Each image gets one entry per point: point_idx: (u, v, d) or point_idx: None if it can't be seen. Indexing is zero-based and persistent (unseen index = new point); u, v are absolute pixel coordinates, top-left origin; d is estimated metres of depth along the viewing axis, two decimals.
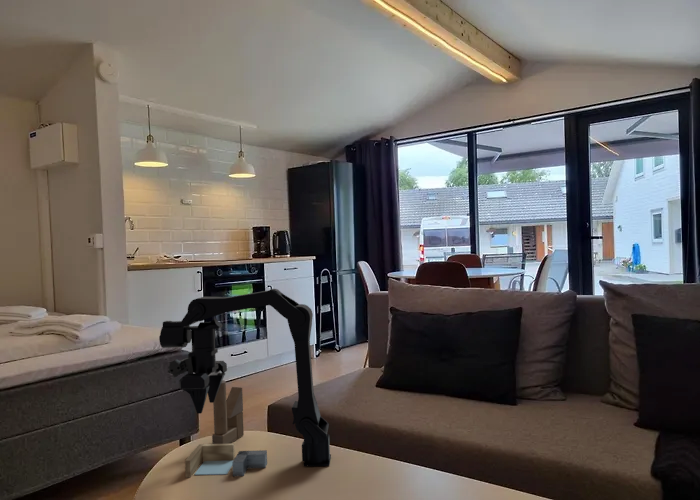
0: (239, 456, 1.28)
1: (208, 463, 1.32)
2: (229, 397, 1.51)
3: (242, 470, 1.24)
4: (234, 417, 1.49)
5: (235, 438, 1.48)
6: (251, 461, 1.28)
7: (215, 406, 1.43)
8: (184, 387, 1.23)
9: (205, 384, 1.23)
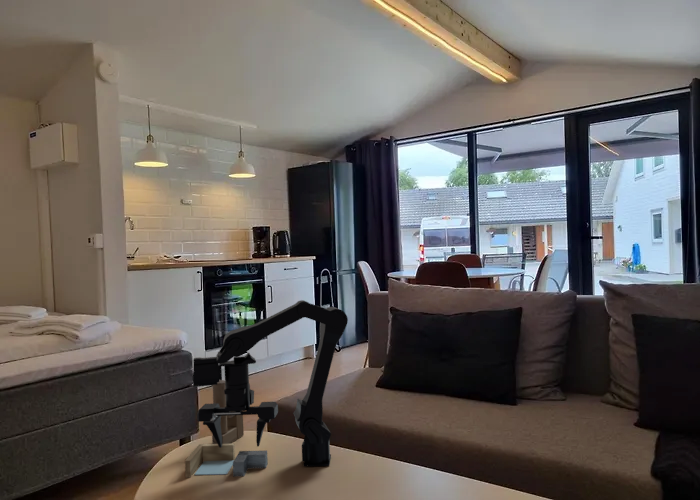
0: (239, 456, 1.27)
1: (208, 463, 1.32)
2: None
3: (242, 470, 1.24)
4: (234, 417, 1.49)
5: (235, 438, 1.48)
6: (251, 461, 1.28)
7: None
8: None
9: (201, 419, 1.23)
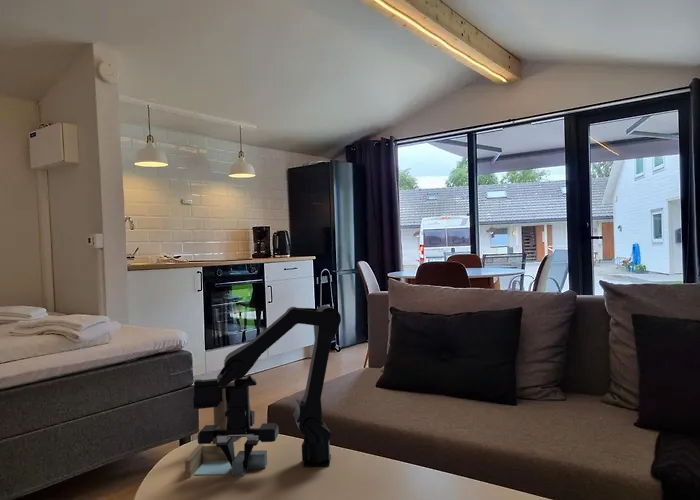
0: (239, 456, 1.27)
1: (208, 463, 1.32)
2: None
3: (241, 470, 1.24)
4: None
5: (235, 438, 1.48)
6: (251, 461, 1.28)
7: None
8: None
9: (201, 441, 1.23)
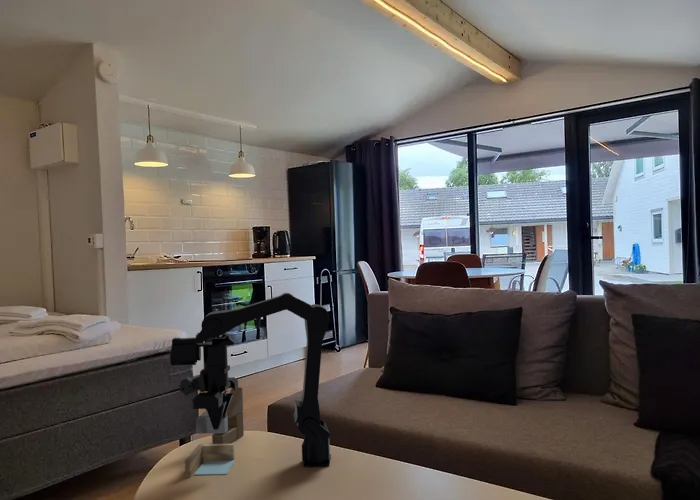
0: None
1: (208, 463, 1.32)
2: None
3: (227, 424, 1.28)
4: (234, 417, 1.49)
5: (235, 438, 1.48)
6: None
7: None
8: (197, 407, 1.17)
9: (219, 404, 1.18)
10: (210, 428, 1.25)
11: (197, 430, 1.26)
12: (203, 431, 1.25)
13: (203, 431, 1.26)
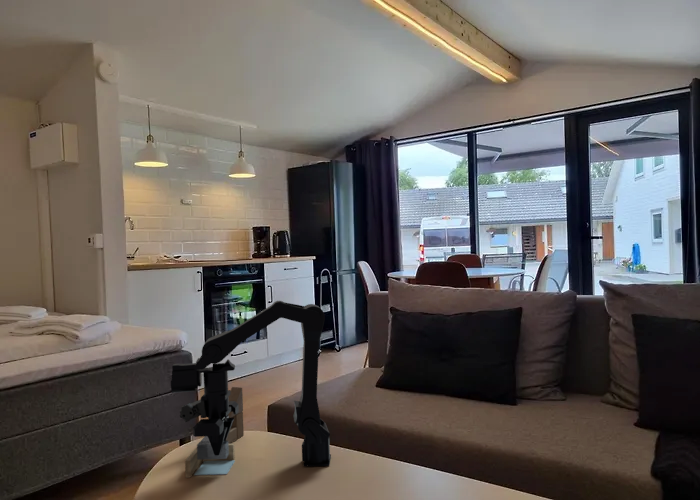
0: None
1: (208, 463, 1.32)
2: (229, 397, 1.51)
3: (228, 449, 1.28)
4: (234, 417, 1.49)
5: (235, 438, 1.48)
6: None
7: None
8: (198, 435, 1.17)
9: (220, 431, 1.19)
10: (211, 454, 1.25)
11: (198, 456, 1.26)
12: (204, 457, 1.26)
13: (204, 456, 1.26)
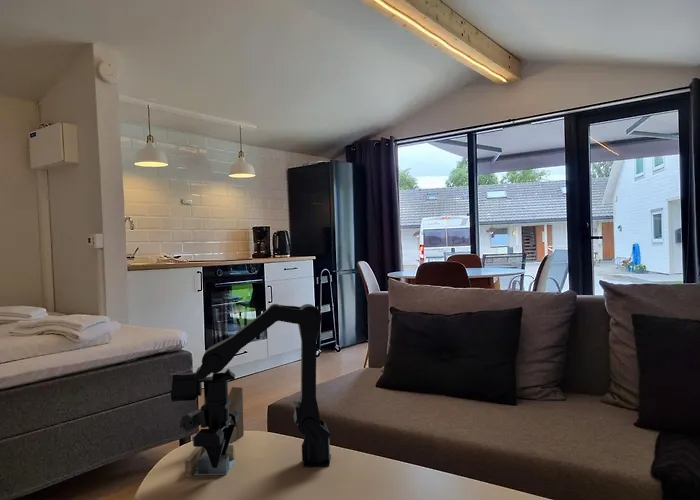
0: None
1: None
2: (229, 397, 1.51)
3: (228, 463, 1.28)
4: None
5: (235, 438, 1.48)
6: None
7: None
8: (198, 445, 1.17)
9: (220, 441, 1.18)
10: (211, 469, 1.25)
11: (198, 471, 1.26)
12: (205, 472, 1.25)
13: (205, 471, 1.25)
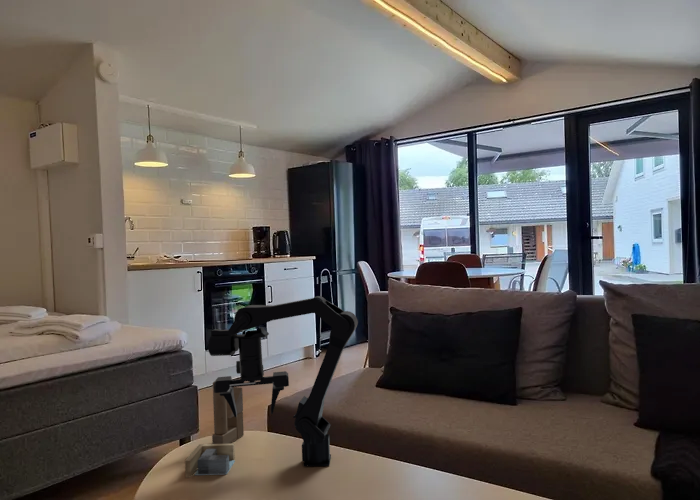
0: (213, 458, 1.26)
1: None
2: None
3: (228, 463, 1.28)
4: (234, 417, 1.49)
5: (235, 438, 1.48)
6: None
7: (215, 406, 1.43)
8: None
9: (218, 390, 1.29)
10: (211, 469, 1.25)
11: (198, 471, 1.26)
12: (205, 472, 1.25)
13: (205, 471, 1.25)
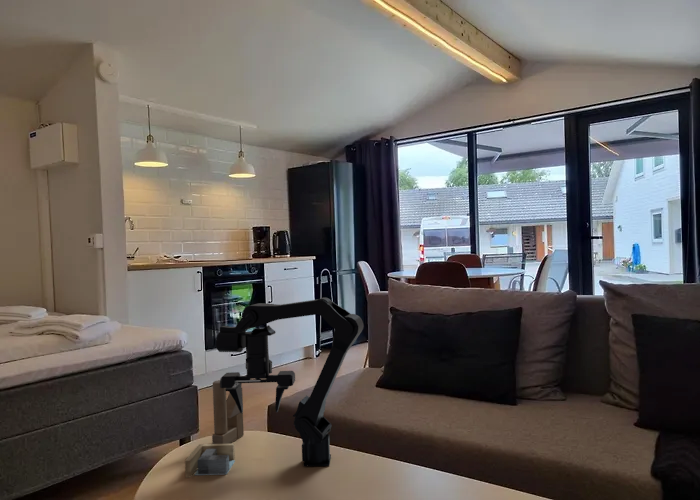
0: (213, 458, 1.26)
1: None
2: (229, 397, 1.51)
3: (228, 463, 1.28)
4: (234, 417, 1.49)
5: (235, 438, 1.48)
6: None
7: (215, 406, 1.43)
8: None
9: (224, 385, 1.32)
10: (211, 469, 1.25)
11: (198, 471, 1.26)
12: (205, 472, 1.25)
13: (205, 471, 1.25)
